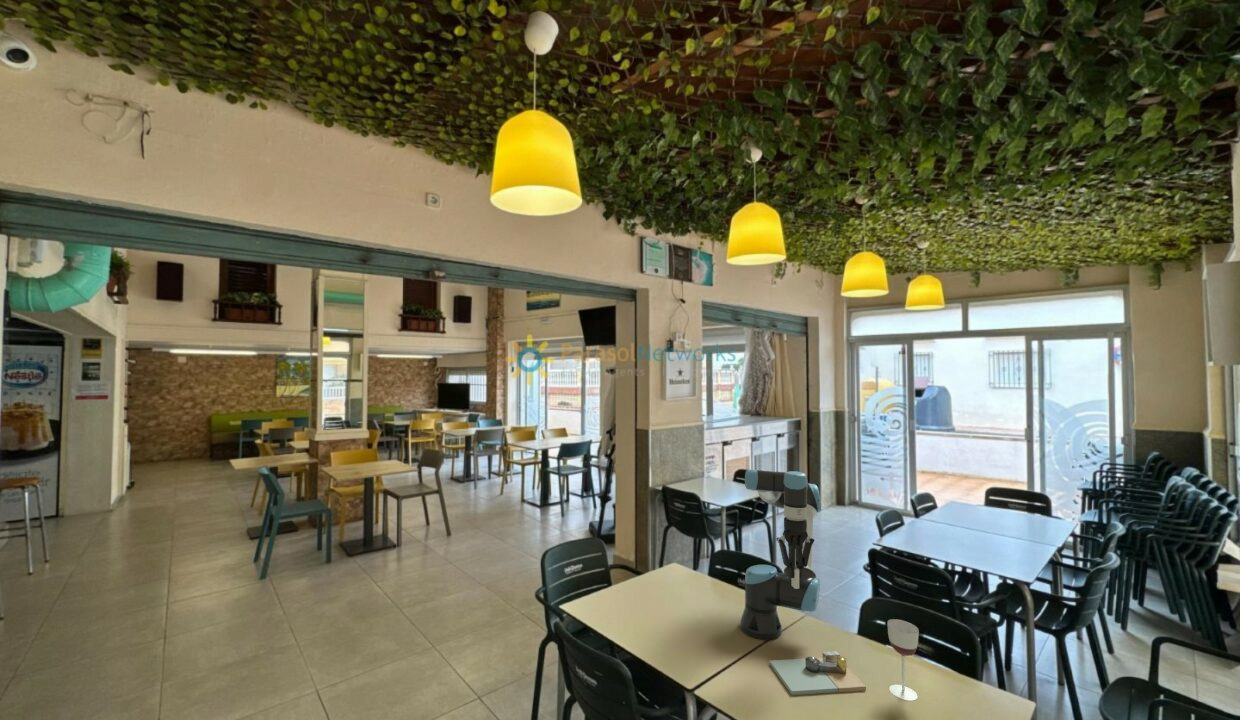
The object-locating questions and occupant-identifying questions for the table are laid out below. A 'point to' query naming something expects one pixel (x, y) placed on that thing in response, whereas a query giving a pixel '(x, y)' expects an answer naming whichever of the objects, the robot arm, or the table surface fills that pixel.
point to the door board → (814, 678)
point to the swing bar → (826, 665)
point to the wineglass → (903, 652)
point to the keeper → (830, 656)
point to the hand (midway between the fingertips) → (795, 586)
